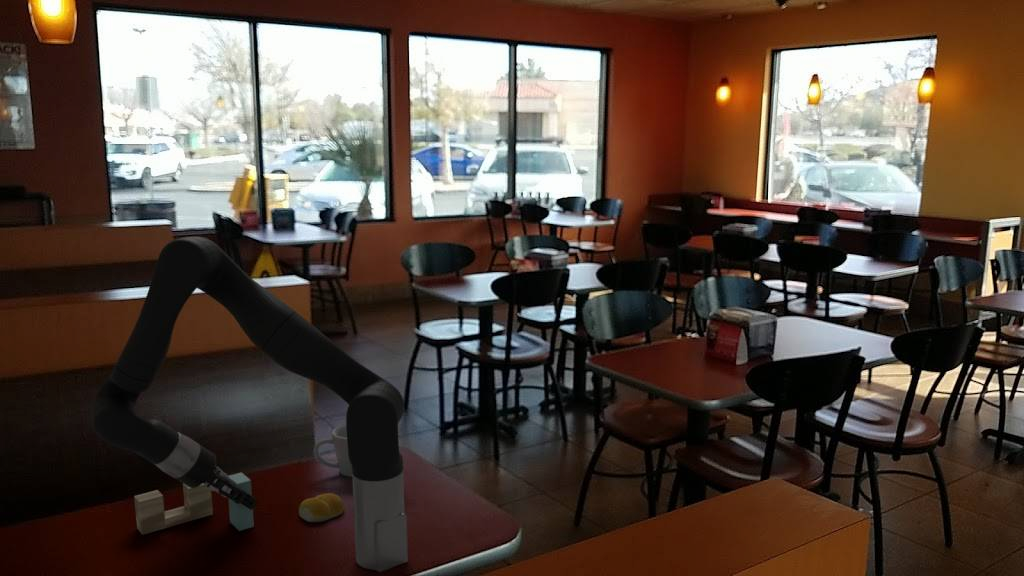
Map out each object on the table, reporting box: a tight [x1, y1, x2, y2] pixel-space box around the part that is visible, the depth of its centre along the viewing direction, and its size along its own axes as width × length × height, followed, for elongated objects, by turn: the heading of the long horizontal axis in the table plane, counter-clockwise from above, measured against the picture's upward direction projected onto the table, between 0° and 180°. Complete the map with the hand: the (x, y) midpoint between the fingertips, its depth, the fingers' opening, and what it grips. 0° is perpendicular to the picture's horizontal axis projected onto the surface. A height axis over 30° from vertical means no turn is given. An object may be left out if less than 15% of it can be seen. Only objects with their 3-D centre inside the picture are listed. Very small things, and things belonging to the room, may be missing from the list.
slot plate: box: [133, 483, 214, 535], centre depth 166 cm, size 4×14×7 cm, turn 129°
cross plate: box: [227, 472, 255, 532], centre depth 165 cm, size 5×3×10 cm, turn 39°
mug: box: [312, 424, 353, 478], centre depth 190 cm, size 10×15×10 cm
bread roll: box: [298, 492, 345, 523], centre depth 170 cm, size 8×9×4 cm
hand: (249, 500), depth 166 cm, fingers closed on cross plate, 5 cm apart
